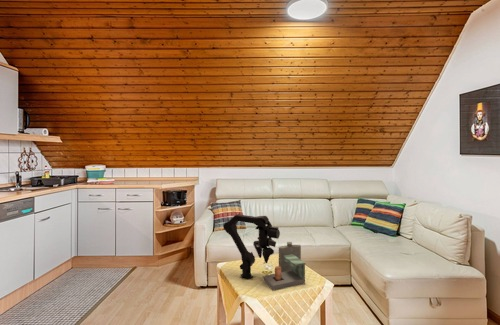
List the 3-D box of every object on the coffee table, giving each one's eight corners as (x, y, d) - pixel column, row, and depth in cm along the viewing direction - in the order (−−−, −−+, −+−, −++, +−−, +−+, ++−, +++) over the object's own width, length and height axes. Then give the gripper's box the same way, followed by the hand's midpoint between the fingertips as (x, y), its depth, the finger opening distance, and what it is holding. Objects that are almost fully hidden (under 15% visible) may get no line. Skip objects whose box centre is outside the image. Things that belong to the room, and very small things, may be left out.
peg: (273, 282, 177) (273, 266, 177) (279, 281, 179) (279, 265, 178) (276, 285, 174) (276, 269, 173) (282, 284, 175) (282, 268, 175)
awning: (283, 271, 186) (283, 255, 185) (292, 269, 189) (292, 254, 188) (295, 281, 172) (295, 264, 172) (305, 279, 175) (305, 262, 174)
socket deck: (263, 280, 180) (263, 275, 180) (293, 274, 188) (293, 269, 188) (273, 290, 167) (273, 285, 167) (304, 283, 176) (304, 279, 175)
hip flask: (279, 274, 189) (279, 244, 188) (277, 271, 193) (277, 242, 192) (301, 271, 193) (301, 242, 192) (298, 268, 197) (299, 240, 196)
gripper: (281, 239, 173) (281, 264, 174) (268, 230, 190) (268, 253, 191) (264, 241, 169) (265, 267, 170) (252, 232, 186) (253, 255, 187)
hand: (263, 260), depth 179 cm, fingers open, 9 cm apart
